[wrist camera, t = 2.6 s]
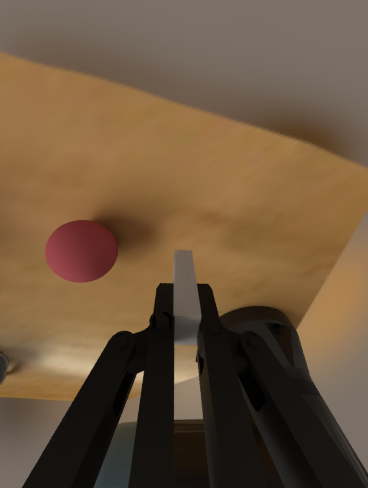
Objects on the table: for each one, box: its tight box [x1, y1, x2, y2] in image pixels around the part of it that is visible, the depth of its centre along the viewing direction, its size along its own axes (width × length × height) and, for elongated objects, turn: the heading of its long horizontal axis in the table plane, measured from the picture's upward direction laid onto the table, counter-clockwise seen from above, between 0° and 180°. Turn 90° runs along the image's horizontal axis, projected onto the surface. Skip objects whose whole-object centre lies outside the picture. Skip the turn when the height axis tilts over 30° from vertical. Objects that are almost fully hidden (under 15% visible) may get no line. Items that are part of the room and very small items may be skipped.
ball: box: [45, 220, 118, 282], centre depth 17 cm, size 6×6×6 cm
